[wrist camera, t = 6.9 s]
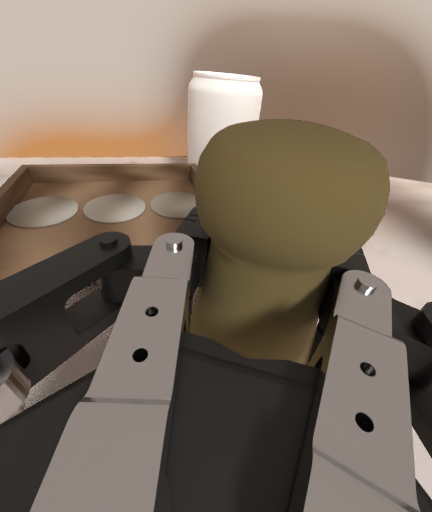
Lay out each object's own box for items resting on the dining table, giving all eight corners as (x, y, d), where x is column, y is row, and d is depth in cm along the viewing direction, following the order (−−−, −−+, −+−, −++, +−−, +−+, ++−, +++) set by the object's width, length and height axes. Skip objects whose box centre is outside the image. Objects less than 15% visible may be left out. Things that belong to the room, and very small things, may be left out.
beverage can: (259, 185, 34) (279, 79, 27) (221, 203, 29) (234, 77, 22) (214, 169, 38) (221, 71, 31) (174, 182, 33) (172, 69, 26)
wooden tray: (194, 199, 29) (195, 163, 27) (227, 273, 20) (233, 227, 17) (38, 206, 25) (21, 164, 23) (-19, 303, 16) (-59, 249, 13)
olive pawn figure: (162, 342, 13) (139, 106, 7) (249, 300, 16) (292, 105, 10) (227, 462, 10) (322, 189, 3) (326, 380, 12) (488, 146, 6)
